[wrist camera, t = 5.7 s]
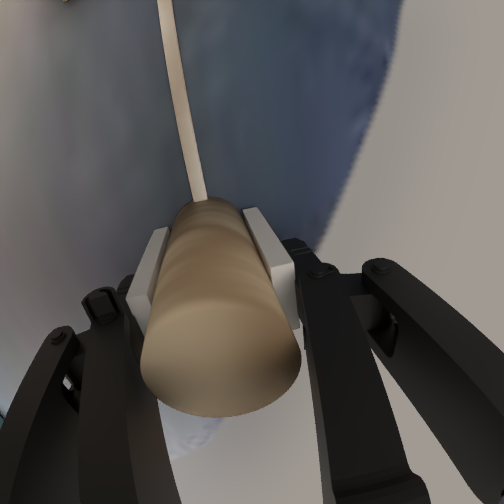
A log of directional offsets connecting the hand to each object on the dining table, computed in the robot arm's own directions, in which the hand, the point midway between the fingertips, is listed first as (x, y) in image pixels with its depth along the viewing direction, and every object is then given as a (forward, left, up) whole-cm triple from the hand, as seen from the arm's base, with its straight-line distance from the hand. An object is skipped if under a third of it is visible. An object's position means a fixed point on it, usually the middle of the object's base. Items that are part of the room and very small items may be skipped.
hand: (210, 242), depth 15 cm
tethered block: (0, +11, -1) cm, 11 cm away
